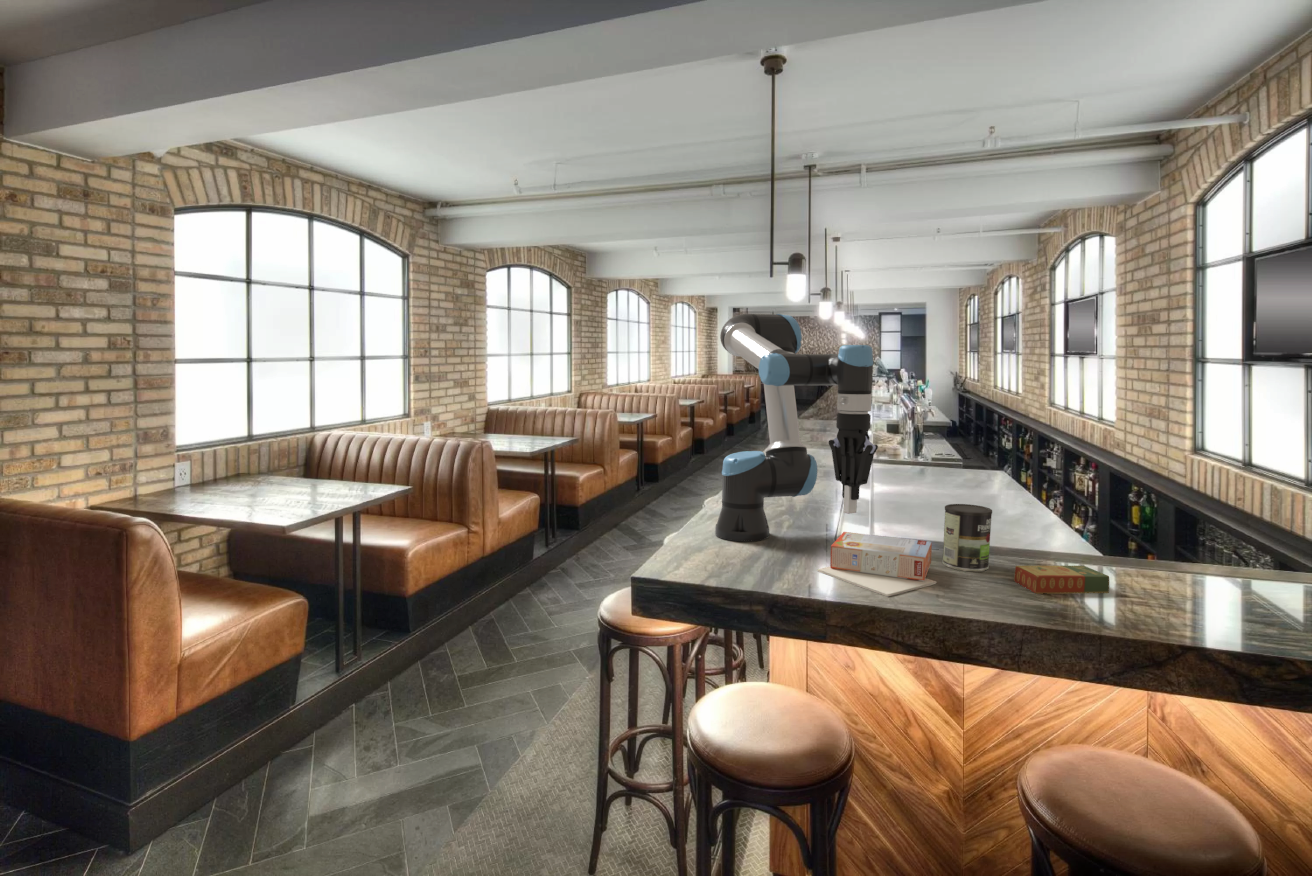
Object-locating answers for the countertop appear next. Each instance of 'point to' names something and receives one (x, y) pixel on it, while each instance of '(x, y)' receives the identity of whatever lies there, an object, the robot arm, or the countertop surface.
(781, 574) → the countertop surface
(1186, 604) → the countertop surface
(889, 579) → the mat
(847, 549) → the cracker box
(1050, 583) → the carton
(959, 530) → the coffee can
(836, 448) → the robot arm
